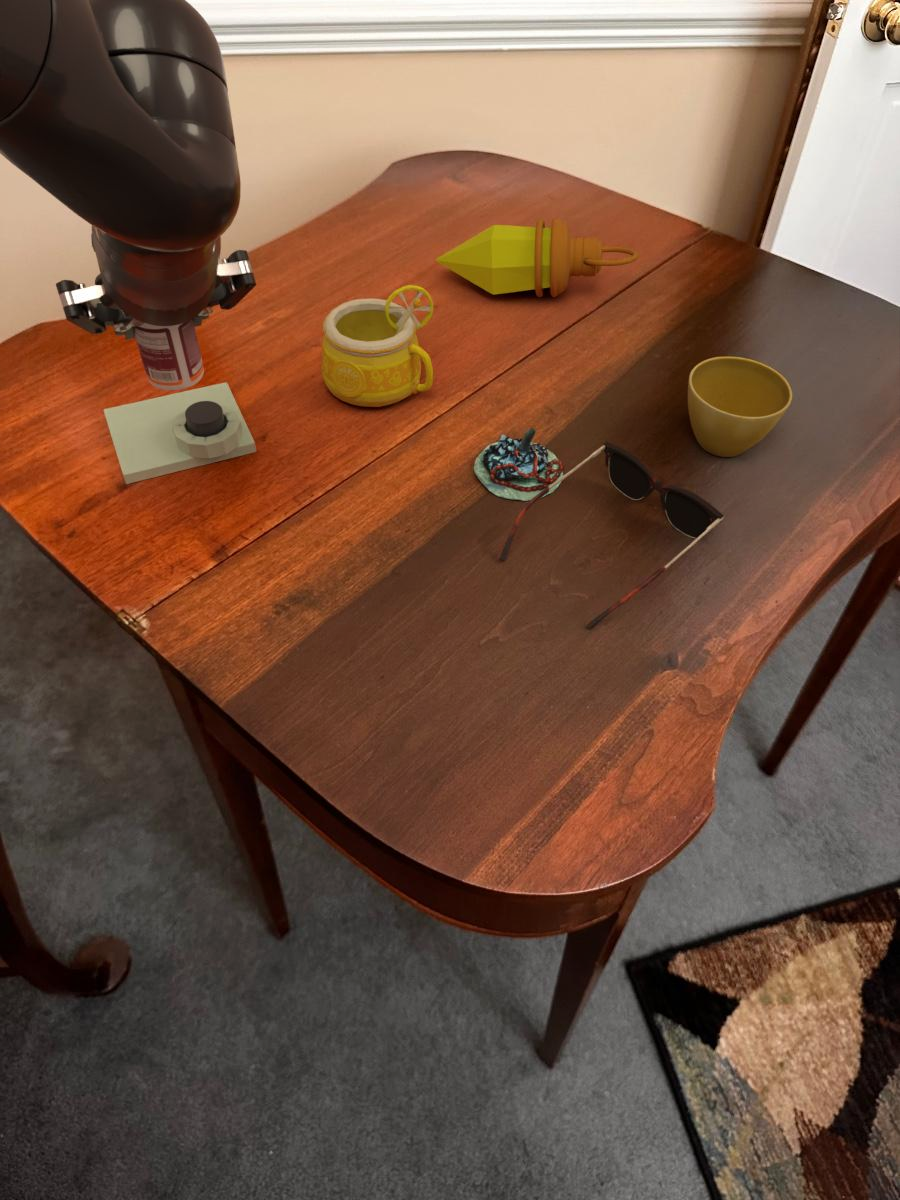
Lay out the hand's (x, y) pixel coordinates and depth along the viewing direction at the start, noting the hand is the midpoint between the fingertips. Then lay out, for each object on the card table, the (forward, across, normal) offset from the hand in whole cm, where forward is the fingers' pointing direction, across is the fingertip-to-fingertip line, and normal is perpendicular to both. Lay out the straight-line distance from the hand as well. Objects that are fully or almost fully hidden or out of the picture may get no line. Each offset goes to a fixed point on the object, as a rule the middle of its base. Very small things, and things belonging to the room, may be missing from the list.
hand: (160, 320), depth 71 cm
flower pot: (+3, +52, -22) cm, 57 cm away
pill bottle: (+2, 0, -4) cm, 5 cm away
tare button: (+14, +2, -7) cm, 16 cm away
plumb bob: (+27, +47, +2) cm, 54 cm away
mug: (+19, +22, -7) cm, 30 cm away
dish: (+6, +30, -20) cm, 36 cm away
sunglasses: (-3, +32, -29) cm, 43 cm away
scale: (+18, 0, -7) cm, 20 cm away
